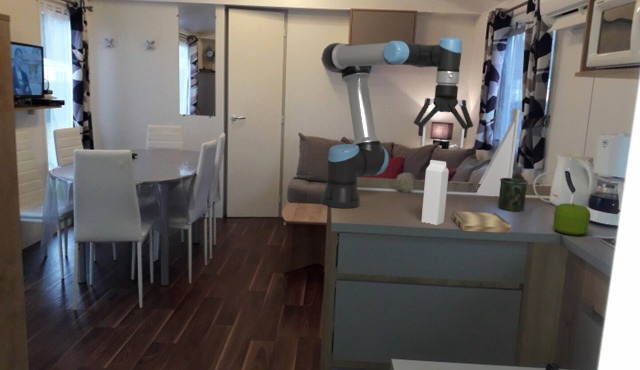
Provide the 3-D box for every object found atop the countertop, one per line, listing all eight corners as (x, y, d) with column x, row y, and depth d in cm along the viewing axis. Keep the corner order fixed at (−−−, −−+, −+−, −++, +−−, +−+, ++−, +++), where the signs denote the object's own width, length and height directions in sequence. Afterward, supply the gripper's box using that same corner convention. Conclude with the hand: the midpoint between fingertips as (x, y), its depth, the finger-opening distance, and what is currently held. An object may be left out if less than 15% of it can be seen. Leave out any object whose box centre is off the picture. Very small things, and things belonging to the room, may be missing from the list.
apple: (556, 236, 177) (560, 204, 175) (548, 228, 188) (552, 198, 186) (591, 239, 176) (596, 207, 174) (581, 231, 186) (586, 200, 184)
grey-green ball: (412, 197, 243) (422, 177, 241) (403, 196, 237) (412, 176, 234) (397, 187, 249) (406, 168, 246) (387, 186, 242) (396, 167, 240)
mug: (520, 207, 222) (524, 178, 220) (530, 215, 208) (534, 185, 205) (494, 205, 223) (497, 177, 221) (501, 212, 209) (505, 183, 206)
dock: (462, 230, 178) (463, 221, 177) (451, 219, 193) (451, 210, 193) (509, 233, 178) (510, 224, 177) (494, 221, 194) (495, 212, 193)
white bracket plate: (474, 189, 259) (483, 106, 252) (505, 191, 256) (514, 108, 248) (476, 196, 240) (485, 107, 233) (509, 199, 236) (519, 109, 229)
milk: (428, 219, 192) (433, 159, 188) (444, 222, 188) (450, 161, 184) (421, 222, 187) (426, 160, 183) (436, 225, 183) (442, 162, 179)
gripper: (413, 82, 176) (408, 146, 180) (486, 86, 178) (480, 149, 182) (408, 82, 184) (403, 143, 187) (478, 86, 185) (472, 146, 189)
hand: (441, 146), depth 185 cm, fingers open, 13 cm apart
